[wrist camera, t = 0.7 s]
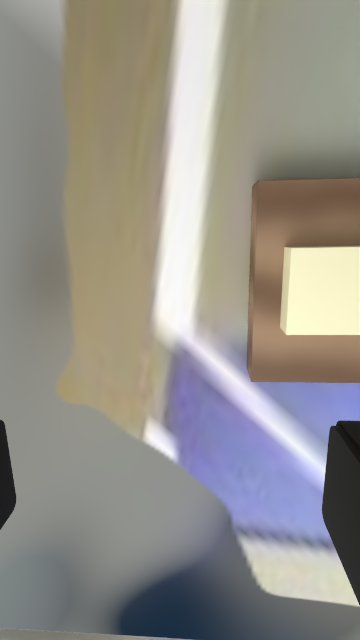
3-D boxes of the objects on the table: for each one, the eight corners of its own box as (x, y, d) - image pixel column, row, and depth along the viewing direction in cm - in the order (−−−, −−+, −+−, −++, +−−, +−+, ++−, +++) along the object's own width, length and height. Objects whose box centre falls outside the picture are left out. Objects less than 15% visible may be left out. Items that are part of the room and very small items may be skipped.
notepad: (284, 246, 25) (291, 248, 23) (414, 244, 24) (433, 245, 22) (279, 327, 26) (286, 334, 24) (402, 327, 25) (419, 334, 24)
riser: (252, 186, 26) (258, 180, 24) (441, 181, 26) (472, 174, 23) (246, 367, 30) (251, 381, 27) (411, 368, 29) (434, 383, 26)
